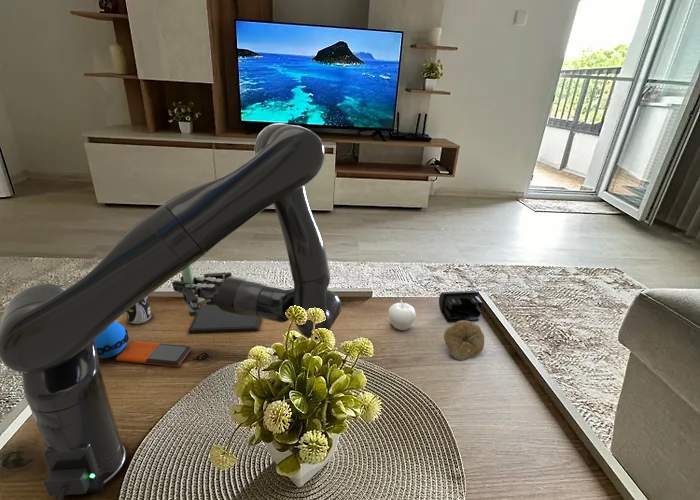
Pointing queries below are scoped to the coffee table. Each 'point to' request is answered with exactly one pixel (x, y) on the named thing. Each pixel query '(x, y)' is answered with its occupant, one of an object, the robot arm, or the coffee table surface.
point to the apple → (401, 315)
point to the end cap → (460, 306)
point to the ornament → (111, 341)
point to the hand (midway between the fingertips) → (178, 282)
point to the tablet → (221, 321)
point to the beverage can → (139, 312)
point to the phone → (154, 353)
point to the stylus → (189, 279)
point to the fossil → (464, 340)
